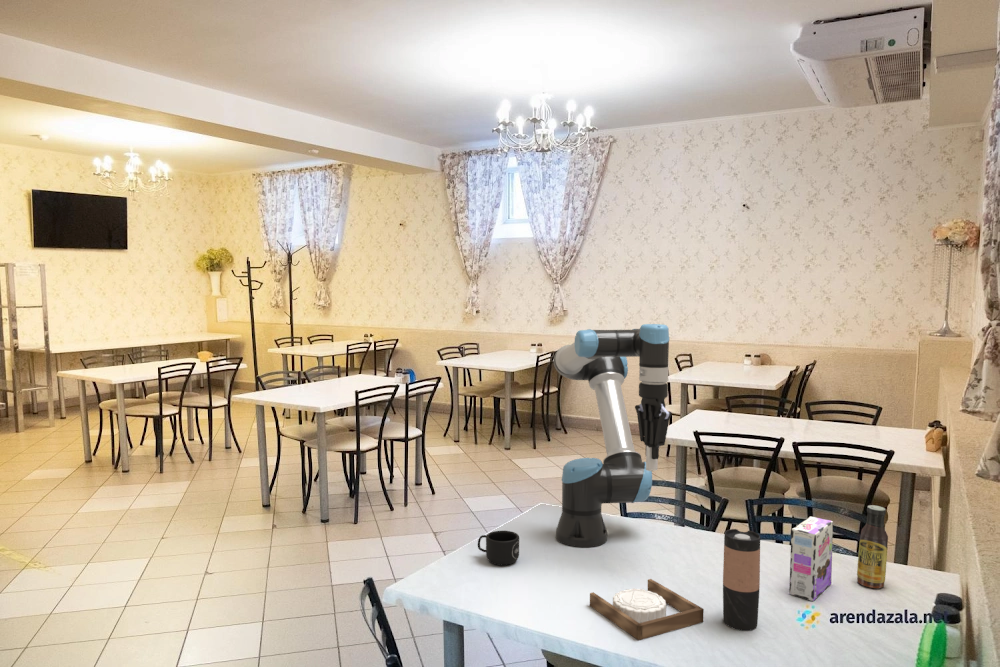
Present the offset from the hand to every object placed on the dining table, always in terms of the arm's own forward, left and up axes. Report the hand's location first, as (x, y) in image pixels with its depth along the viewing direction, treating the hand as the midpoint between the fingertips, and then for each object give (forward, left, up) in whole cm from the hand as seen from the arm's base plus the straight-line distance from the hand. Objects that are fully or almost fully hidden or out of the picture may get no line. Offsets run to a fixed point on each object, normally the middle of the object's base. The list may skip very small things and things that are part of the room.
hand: (651, 469), depth 184 cm
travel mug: (+35, -4, -26) cm, 44 cm away
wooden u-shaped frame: (+22, -20, -26) cm, 39 cm away
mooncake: (+21, -20, -26) cm, 39 cm away
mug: (-21, -36, -26) cm, 49 cm away
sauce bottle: (+35, +41, -26) cm, 60 cm away
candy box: (+30, +25, -26) cm, 47 cm away
